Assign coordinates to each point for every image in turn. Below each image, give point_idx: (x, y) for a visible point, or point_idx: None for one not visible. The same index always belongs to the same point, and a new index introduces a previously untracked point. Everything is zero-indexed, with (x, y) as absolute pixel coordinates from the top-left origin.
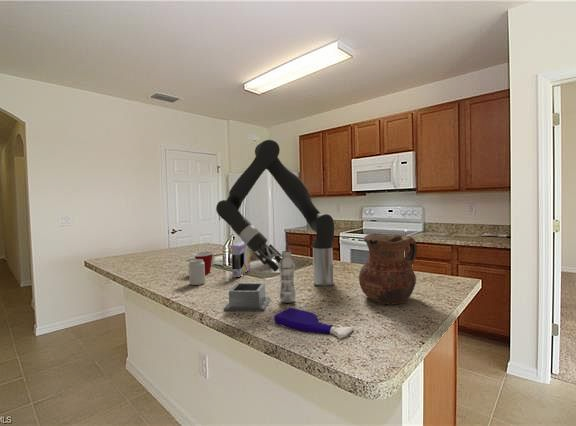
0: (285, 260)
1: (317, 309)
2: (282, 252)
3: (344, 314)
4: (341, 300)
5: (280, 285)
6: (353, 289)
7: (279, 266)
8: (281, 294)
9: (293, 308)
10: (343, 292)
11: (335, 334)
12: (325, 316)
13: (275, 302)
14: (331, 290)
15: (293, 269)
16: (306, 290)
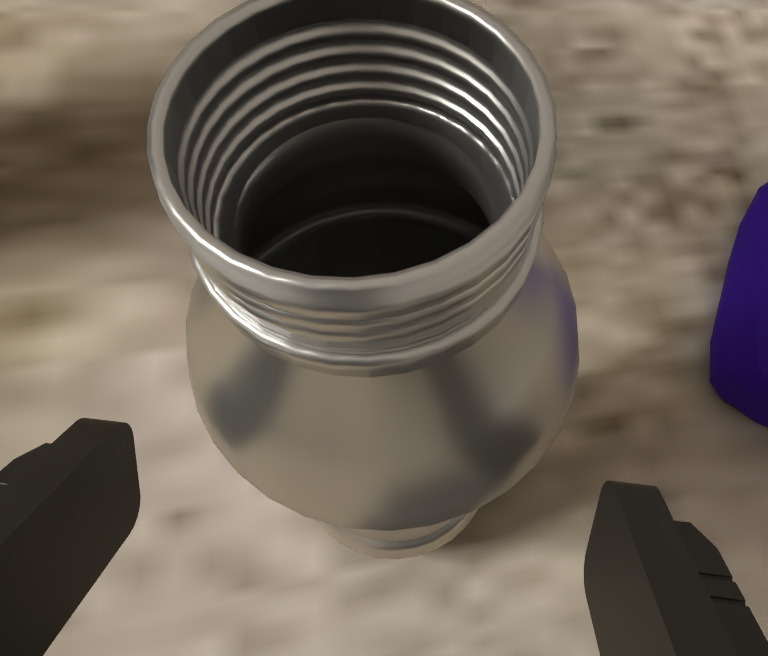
0: (534, 271)
1: (546, 204)
2: (491, 248)
3: (604, 45)
4: None
5: (414, 530)
6: (59, 2)
7: (514, 484)
8: (470, 515)
9: (761, 339)
10: (128, 59)
11: None
12: (673, 144)
13: (421, 607)
14: (63, 139)
15: (432, 234)
16: (32, 342)
